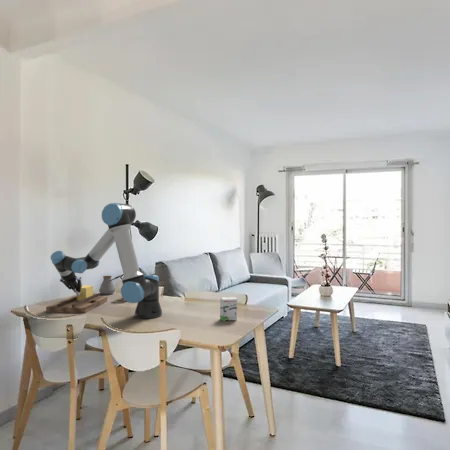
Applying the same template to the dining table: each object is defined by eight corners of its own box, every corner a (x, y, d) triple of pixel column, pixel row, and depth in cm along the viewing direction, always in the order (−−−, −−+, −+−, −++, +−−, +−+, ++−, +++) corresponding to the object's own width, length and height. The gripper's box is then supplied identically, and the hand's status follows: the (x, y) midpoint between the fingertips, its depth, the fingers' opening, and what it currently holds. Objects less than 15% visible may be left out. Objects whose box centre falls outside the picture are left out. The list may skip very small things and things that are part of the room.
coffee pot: (95, 294, 279) (95, 273, 278) (108, 291, 288) (108, 271, 288) (115, 297, 267) (115, 276, 267) (128, 294, 277) (128, 274, 277)
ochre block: (93, 297, 252) (93, 285, 252) (85, 300, 242) (85, 288, 242) (84, 297, 252) (84, 285, 252) (76, 300, 243) (76, 287, 242)
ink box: (221, 321, 204) (221, 299, 204) (219, 319, 209) (219, 297, 209) (237, 320, 206) (237, 298, 206) (235, 318, 211) (235, 296, 211)
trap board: (107, 301, 254) (107, 294, 254) (85, 312, 222) (85, 304, 222) (72, 300, 256) (72, 293, 256) (46, 312, 225) (46, 303, 225)
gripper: (53, 276, 222) (67, 299, 239) (74, 277, 221) (87, 299, 238) (57, 266, 227) (71, 289, 244) (79, 266, 226) (91, 289, 243)
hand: (79, 294), depth 241 cm, fingers closed
